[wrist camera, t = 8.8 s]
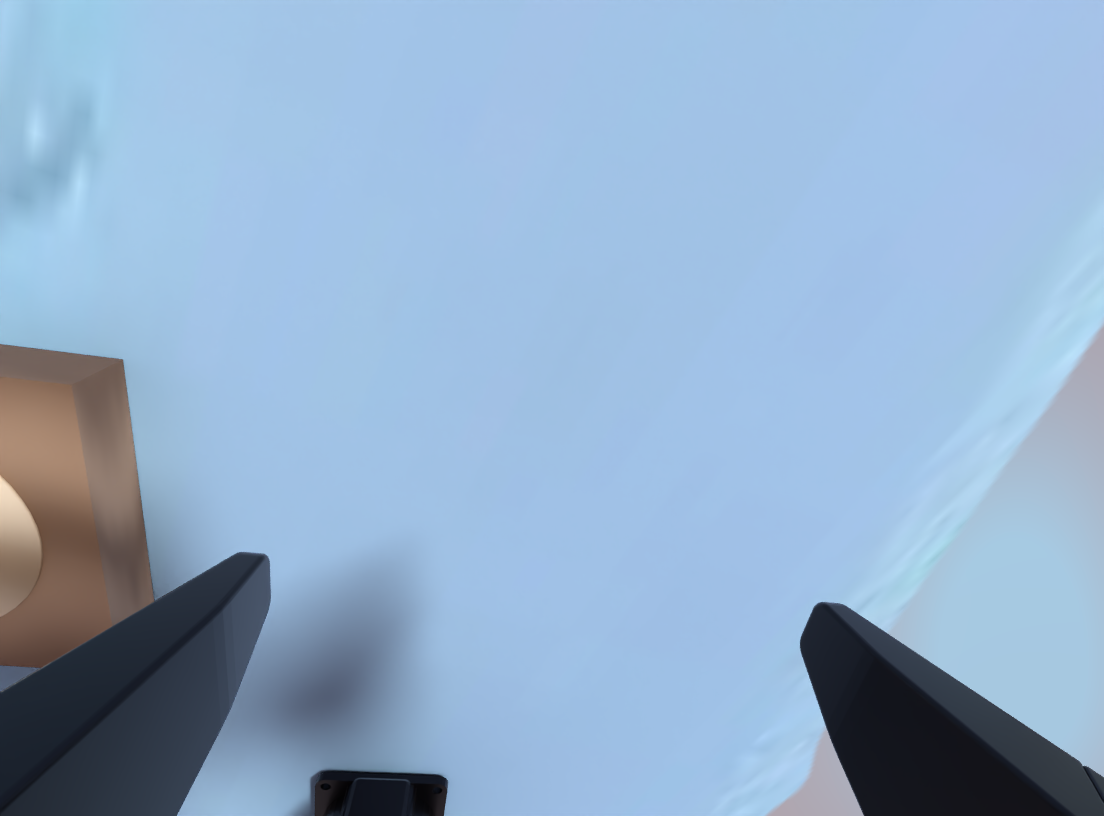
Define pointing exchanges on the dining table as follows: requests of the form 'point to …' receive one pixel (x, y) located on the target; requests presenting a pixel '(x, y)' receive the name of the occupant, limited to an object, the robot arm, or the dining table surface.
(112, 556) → the walnut plinth
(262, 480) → the dining table surface
